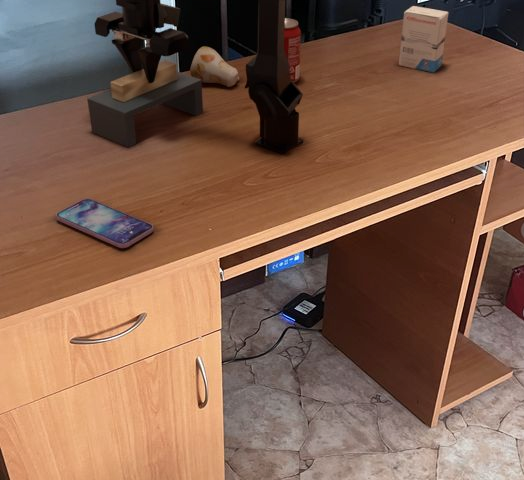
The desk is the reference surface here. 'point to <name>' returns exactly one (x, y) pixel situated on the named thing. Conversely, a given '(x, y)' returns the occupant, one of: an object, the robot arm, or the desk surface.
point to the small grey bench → (141, 107)
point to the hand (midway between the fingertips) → (145, 80)
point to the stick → (142, 82)
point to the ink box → (423, 38)
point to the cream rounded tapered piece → (212, 68)
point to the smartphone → (105, 223)
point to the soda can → (292, 47)
